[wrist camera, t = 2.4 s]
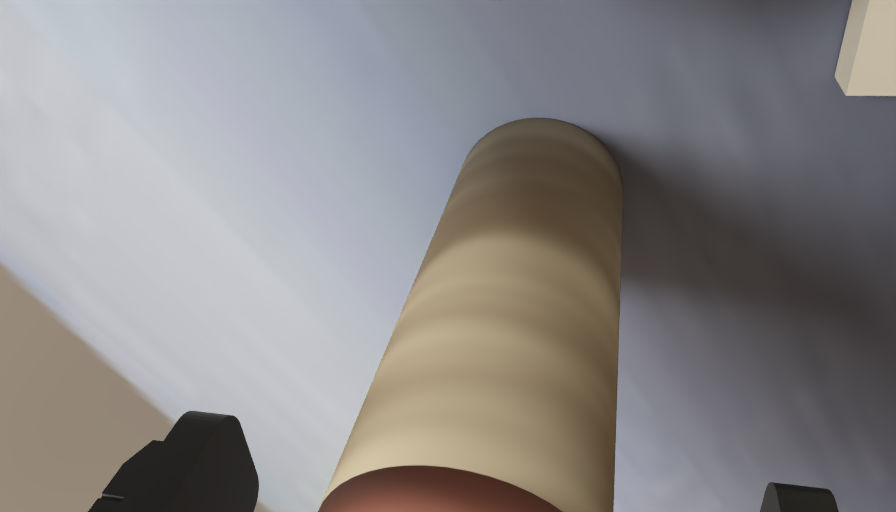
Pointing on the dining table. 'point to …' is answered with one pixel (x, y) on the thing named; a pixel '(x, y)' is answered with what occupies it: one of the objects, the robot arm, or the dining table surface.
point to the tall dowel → (503, 342)
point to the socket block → (869, 50)
